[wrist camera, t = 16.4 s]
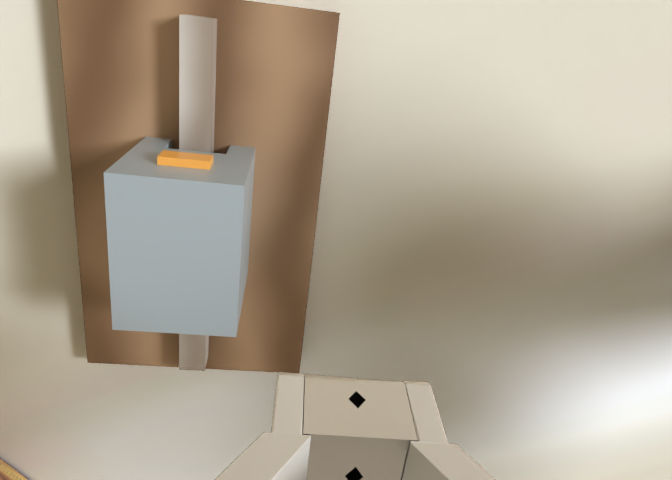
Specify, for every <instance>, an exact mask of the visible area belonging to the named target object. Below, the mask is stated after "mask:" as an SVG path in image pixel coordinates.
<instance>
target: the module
mask: <svg viewBox="0 0 672 480" xmlns="http://www.w3.org/2000/svg"><path fill="white" fill-rule="evenodd" d="M255 149H256V148H254V147H244V146H234V145H230V147H229V149H228V151H227V153H226V154H220V153H210V152H200V151H190V150H180V149H172V139H166V138H156V137H145V138H144V139H143V140H141V141H140V142H139V143H138V144H137V145H135V146H134V147H133V148H132V149H131V150H130V151H128V152H127V153H126V154H125V155H124V156H122V157H121V158H120V159H119V160H118V161H117V162H115V163H114V164H113V165H112V166H111V167H109V168H108V169H107V170H106V171H105V172H104V190H105V208H106V226H107V243H108V261H109V279H110V296H111V314H112V330H126V331H143V332H159V333H176V334H192V335H209V336H225V337H236V336H237V330H238V325H239V319H240V314H241V308H242V303H243V297H244V291H245V286H246V280H247V275H248V262H249V246H250V230H251V213H252V197H253V181H254V165H255Z"/></svg>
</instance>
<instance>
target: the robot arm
mask: <svg viewBox="0 0 672 480" xmlns="http://www.w3.org/2000/svg"><path fill="white" fill-rule="evenodd" d="M215 480H495V479H494V478H493V477H492V476H491V475H490V474H489V473H488V472H486V471H485V470H484V469H483V468H482V467H481V466H480V465H479V464H478V463H476V462H475V461H474V460H473V459H472V458H471V457H470V456H469V455H468V454H466V453H465V452H464V451H463V450H462V449H461V448H460V447H459V446H458V445H456V444H450V443H448V441H447V437H446V434H445V431H444V427H443V424H442V421H441V418H440V414H439V411H438V408H437V404H436V401H435V398H434V394H433V391H432V388H431V385H430V384H429V383H428V382H421V381H403V382H402V381H388V380H372V379H355V378H347V377H335V376H324V375H313V374H305V375H304V374H299V373H287V372H279V373H278V376H277V384H276V393H275V402H274V411H273V420H272V429H271V433H262V434H261V435H260V436H259V437H258V438H257V439H256V440H255V441H254V442H253V443H252V444H251V445H250V446H249V447H248V448H247V449H246V450H245V451H244V452H243V453H242V454H241V455H240V456H239V457H238V458H237V459H236V460H235V461H233V462H232V463H231V464H230V465H229V466H228V467H227V468H226V469H225V470H224V471H223V472H222V473H221V474H220V475H219V476H218V477H217V478H216V479H215Z"/></svg>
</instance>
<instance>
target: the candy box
mask: <svg viewBox="0 0 672 480" xmlns="http://www.w3.org/2000/svg"><path fill="white" fill-rule="evenodd" d="M0 480H27V479H26V478H25V477H23V476H22V475H21V474H20V473H18V472H17V471H16V470H14V469H13V468H12V467H10V466H9V465H8V464H6V463H5V462H4V461H2V460H1V459H0Z"/></svg>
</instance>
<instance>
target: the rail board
mask: <svg viewBox="0 0 672 480" xmlns="http://www.w3.org/2000/svg"><path fill="white" fill-rule="evenodd" d="M57 4H58V15H59V27H60V39H61V51H62V63H63V75H64V87H65V99H66V111H67V122H68V134H69V146H70V158H71V170H72V182H73V194H74V206H75V218H76V229H77V241H78V253H79V265H80V277H81V289H82V301H83V313H84V325H85V336H86V348H87V360H88V362H89V363H108V364H127V365H147V366H166V367H179V369H182V370H202V371H205V369H224V370H244V371H263V372H287V373H299V370H300V361H301V352H302V343H303V334H304V326H305V317H306V308H307V299H308V290H309V281H310V272H311V263H312V255H313V246H314V237H315V228H316V219H317V210H318V201H319V192H320V183H321V175H322V166H323V157H324V148H325V139H326V130H327V121H328V112H329V104H330V95H331V86H332V77H333V68H334V59H335V50H336V41H337V33H338V24H339V15H340V13H336V12H328V11H320V10H313V9H305V8H298V7H290V6H282V5H275V4H267V3H260V2H252V1H244V0H57ZM145 137H156V138H166V139H172V149H180V150H190V151H200V152H210V153H220V154H226V153H227V151H228V149H229V147H230V145H234V146H244V147H254V148H256V149H255V165H254V181H253V197H252V213H251V230H250V246H249V262H248V275H247V280H246V286H245V291H244V297H243V303H242V308H241V314H240V319H239V325H238V330H237V336H236V337H225V336H209V335H192V334H176V333H159V332H143V331H126V330H112V314H111V296H110V279H109V261H108V243H107V226H106V208H105V190H104V172H105V171H106V170H107V169H108V168H109V167H111V166H112V165H113V164H114V163H115V162H117V161H118V160H119V159H120V158H121V157H122V156H124V155H125V154H126V153H127V152H128V151H130V150H131V149H132V148H133V147H134V146H135V145H137V144H138V143H139V142H140V141H141V140H143V139H144V138H145Z"/></svg>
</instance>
